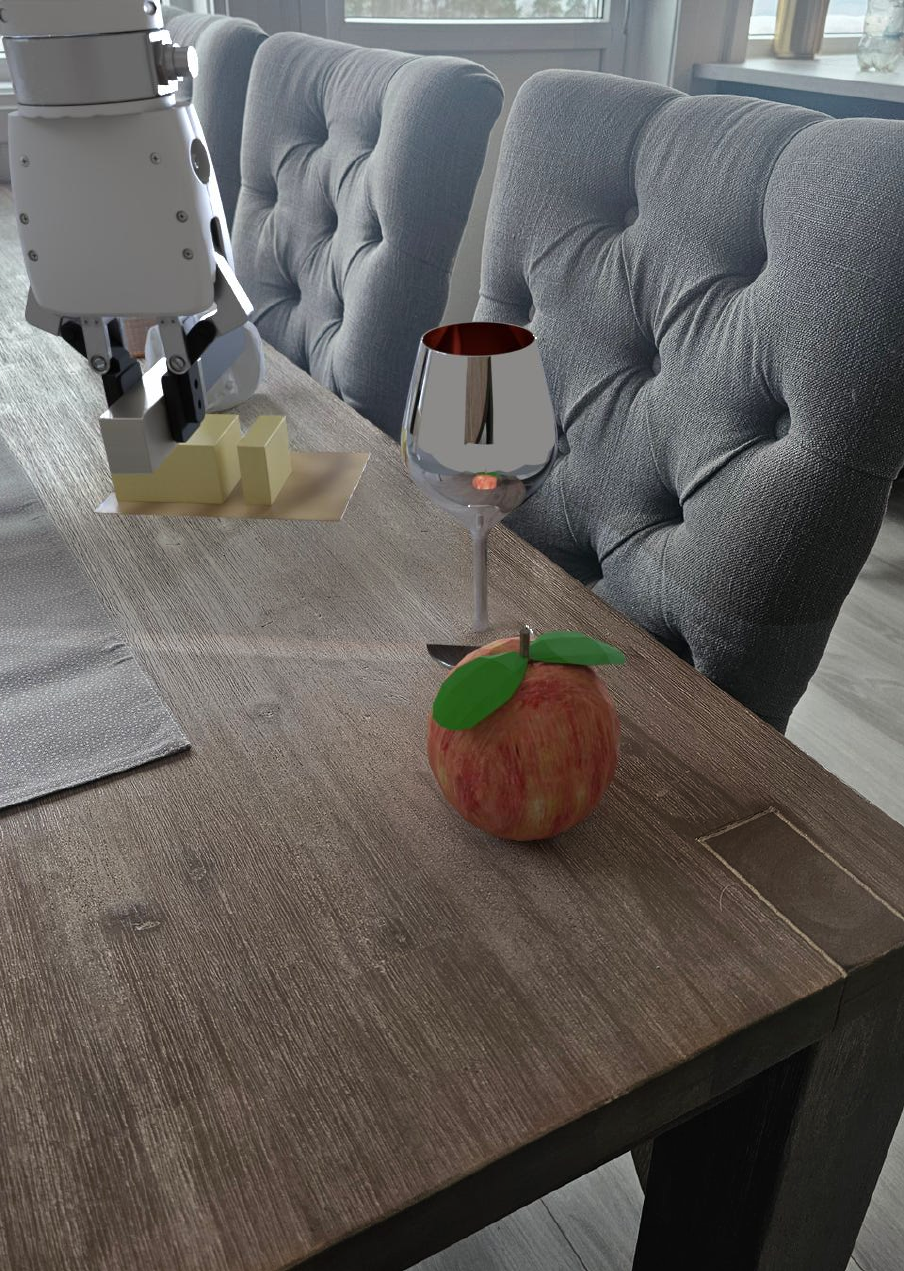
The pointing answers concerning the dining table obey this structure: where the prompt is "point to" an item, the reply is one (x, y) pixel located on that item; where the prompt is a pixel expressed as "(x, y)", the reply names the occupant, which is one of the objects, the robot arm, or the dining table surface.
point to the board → (306, 495)
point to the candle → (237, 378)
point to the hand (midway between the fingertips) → (161, 431)
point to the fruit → (526, 734)
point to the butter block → (191, 468)
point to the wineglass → (478, 436)
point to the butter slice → (264, 459)
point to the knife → (158, 410)
